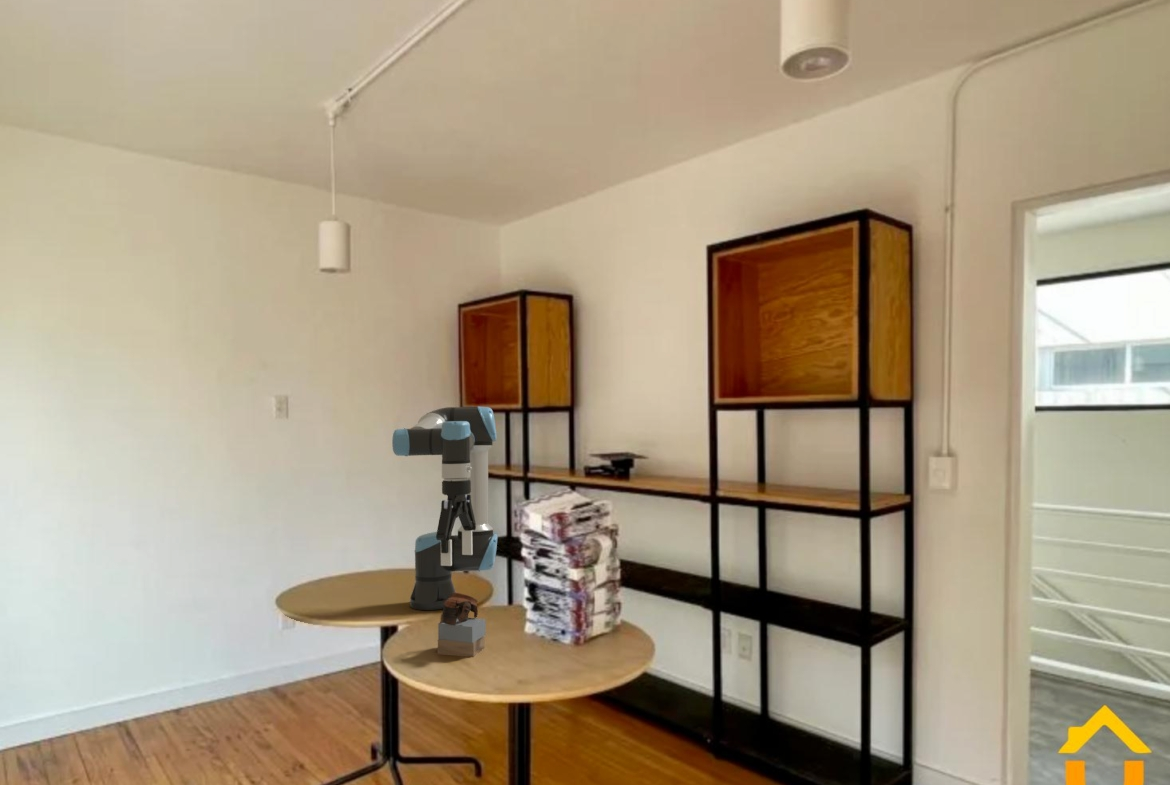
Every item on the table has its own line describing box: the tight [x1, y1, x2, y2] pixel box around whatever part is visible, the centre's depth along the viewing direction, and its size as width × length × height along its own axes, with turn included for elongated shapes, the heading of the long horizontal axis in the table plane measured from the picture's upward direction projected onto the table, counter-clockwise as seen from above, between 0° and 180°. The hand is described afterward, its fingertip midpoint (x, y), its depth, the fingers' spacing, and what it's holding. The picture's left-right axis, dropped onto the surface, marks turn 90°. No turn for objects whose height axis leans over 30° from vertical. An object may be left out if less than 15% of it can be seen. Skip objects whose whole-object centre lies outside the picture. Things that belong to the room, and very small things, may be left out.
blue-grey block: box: [437, 617, 487, 643], centre depth 180 cm, size 7×10×4 cm
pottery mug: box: [439, 592, 479, 626], centre depth 180 cm, size 12×10×8 cm
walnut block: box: [437, 635, 486, 658], centre depth 180 cm, size 7×10×4 cm
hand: (457, 560), depth 182 cm, fingers open, 13 cm apart
